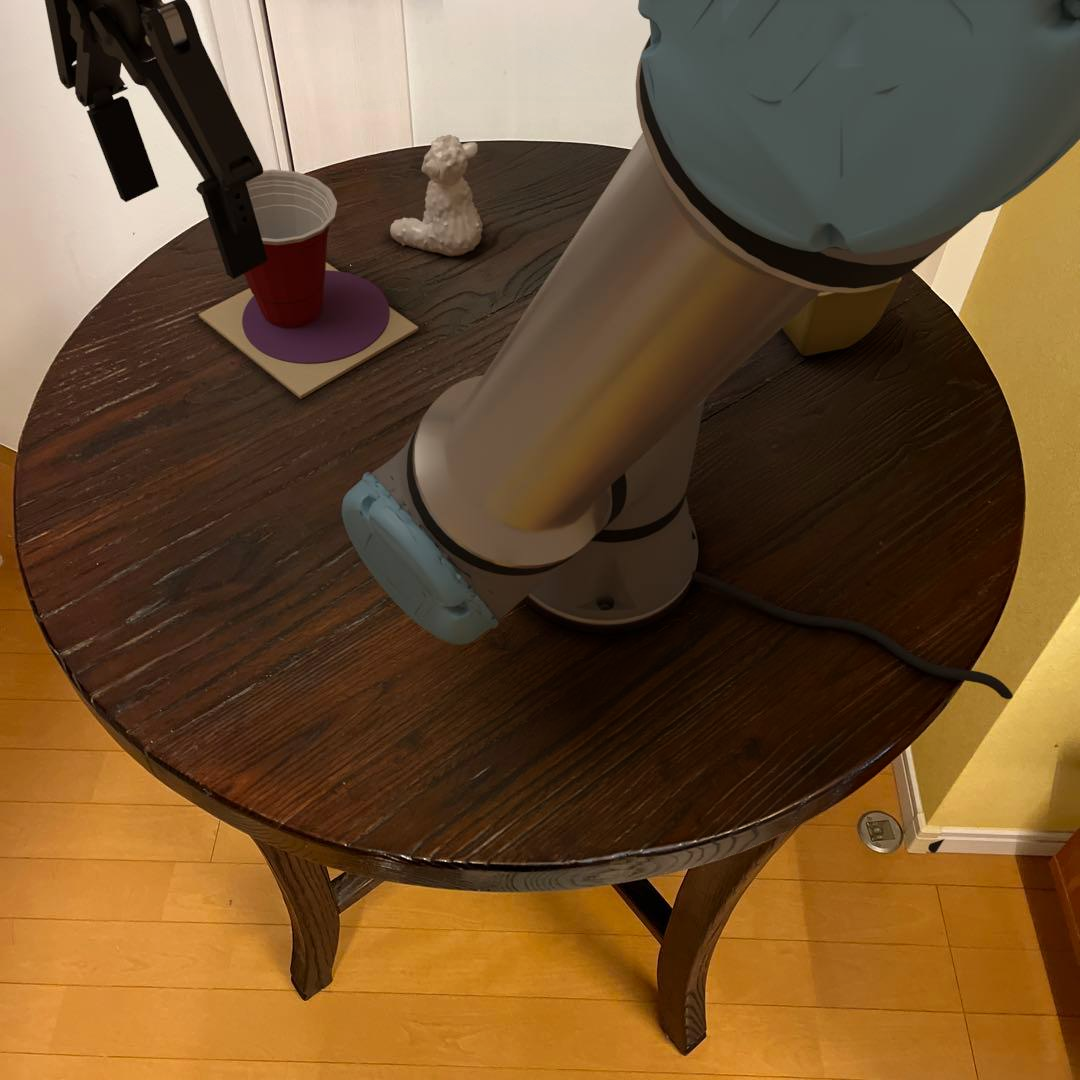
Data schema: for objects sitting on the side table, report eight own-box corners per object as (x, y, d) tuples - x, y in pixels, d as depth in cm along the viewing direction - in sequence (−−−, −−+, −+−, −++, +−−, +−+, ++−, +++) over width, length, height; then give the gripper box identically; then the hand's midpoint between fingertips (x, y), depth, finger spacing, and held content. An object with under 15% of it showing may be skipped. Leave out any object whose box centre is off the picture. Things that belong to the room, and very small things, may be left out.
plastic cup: (331, 354, 99) (313, 244, 89) (220, 337, 100) (191, 227, 91) (365, 284, 106) (352, 174, 96) (261, 269, 107) (238, 159, 97)
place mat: (426, 325, 103) (426, 320, 102) (300, 399, 96) (299, 394, 95) (323, 253, 110) (322, 248, 109) (199, 317, 103) (197, 312, 102)
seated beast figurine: (457, 205, 116) (453, 99, 107) (509, 240, 112) (510, 134, 103) (387, 238, 112) (376, 131, 102) (439, 276, 108) (433, 169, 98)
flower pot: (833, 301, 107) (855, 223, 100) (877, 356, 101) (904, 278, 94) (753, 317, 105) (771, 239, 98) (794, 374, 99) (815, 296, 92)
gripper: (-92, -148, 61) (54, 185, 77) (131, -38, 49) (249, 331, 65) (28, -183, 64) (144, 144, 80) (265, -87, 52) (346, 276, 68)
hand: (191, 228), depth 73 cm, fingers open, 13 cm apart
